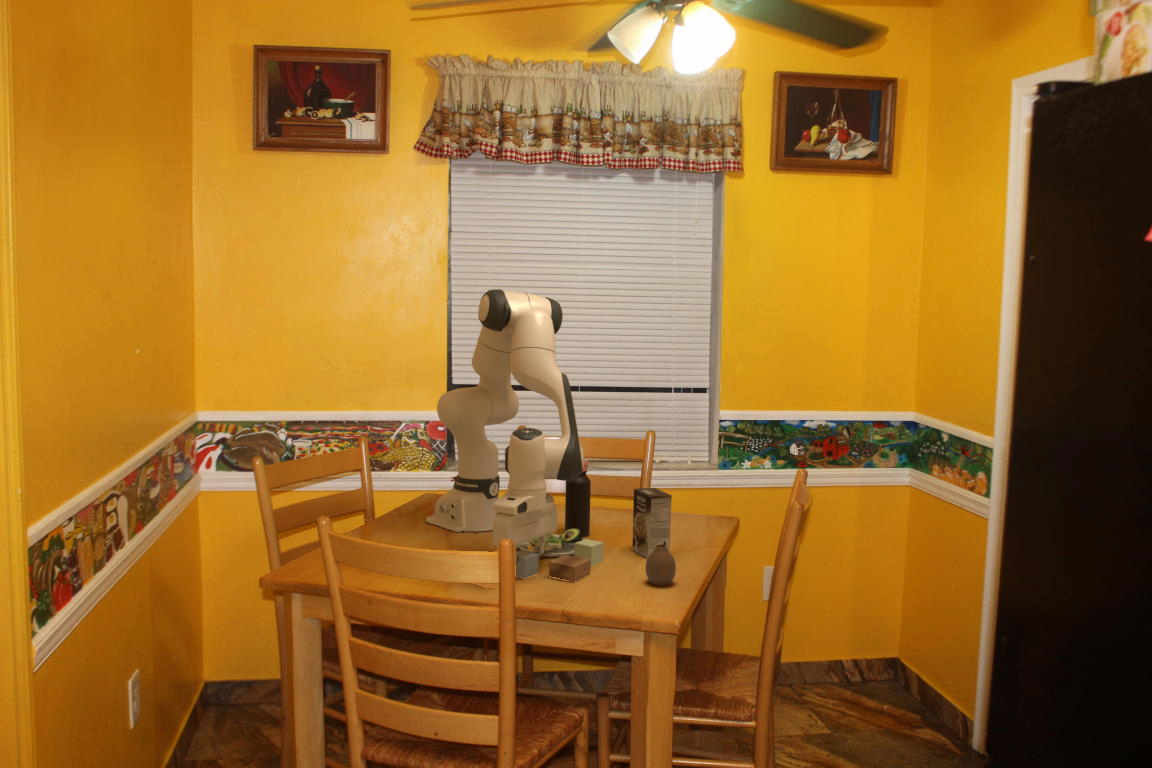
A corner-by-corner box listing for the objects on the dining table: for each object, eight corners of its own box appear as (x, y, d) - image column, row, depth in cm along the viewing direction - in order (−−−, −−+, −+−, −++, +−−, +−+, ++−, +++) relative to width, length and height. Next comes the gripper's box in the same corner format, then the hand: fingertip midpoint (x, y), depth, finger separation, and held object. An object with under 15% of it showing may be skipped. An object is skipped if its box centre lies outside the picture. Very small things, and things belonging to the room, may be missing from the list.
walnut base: (548, 578, 215) (549, 561, 215) (564, 571, 221) (565, 554, 221) (574, 584, 212) (575, 566, 211) (590, 576, 218) (590, 559, 217)
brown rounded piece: (642, 578, 216) (644, 541, 215) (672, 578, 216) (673, 541, 216) (647, 588, 209) (648, 550, 208) (678, 588, 210) (679, 549, 209)
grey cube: (507, 575, 216) (508, 554, 216) (521, 570, 220) (521, 550, 220) (524, 580, 213) (525, 558, 213) (538, 574, 217) (538, 554, 217)
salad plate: (569, 565, 226) (569, 547, 225) (504, 556, 233) (504, 538, 232) (599, 546, 244) (599, 528, 243) (537, 537, 251) (537, 521, 250)
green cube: (574, 563, 227) (574, 543, 227) (586, 558, 231) (586, 538, 231) (591, 567, 224) (591, 546, 224) (602, 562, 228) (603, 542, 228)
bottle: (591, 532, 256) (592, 460, 254) (587, 538, 249) (589, 465, 247) (566, 530, 257) (568, 459, 255) (562, 537, 250) (564, 463, 248)
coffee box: (631, 550, 239) (632, 488, 237) (653, 548, 242) (655, 486, 240) (647, 560, 231) (649, 496, 229) (670, 557, 233) (672, 494, 232)
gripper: (543, 490, 225) (542, 546, 226) (488, 505, 208) (488, 565, 210) (564, 493, 222) (563, 550, 223) (510, 509, 205) (509, 570, 206)
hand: (526, 558), depth 216 cm, fingers open, 8 cm apart
